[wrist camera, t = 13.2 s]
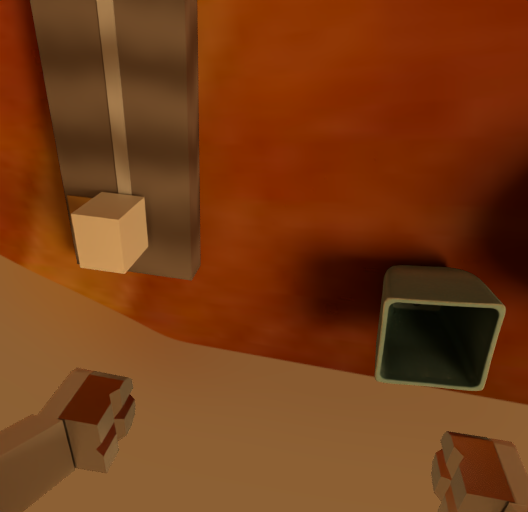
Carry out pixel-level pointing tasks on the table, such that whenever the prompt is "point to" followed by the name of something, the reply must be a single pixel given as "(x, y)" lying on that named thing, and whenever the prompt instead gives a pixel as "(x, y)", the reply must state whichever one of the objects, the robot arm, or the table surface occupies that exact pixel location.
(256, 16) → the table surface
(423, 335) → the flower pot
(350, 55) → the table surface
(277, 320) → the table surface
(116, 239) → the fader
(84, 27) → the track board
